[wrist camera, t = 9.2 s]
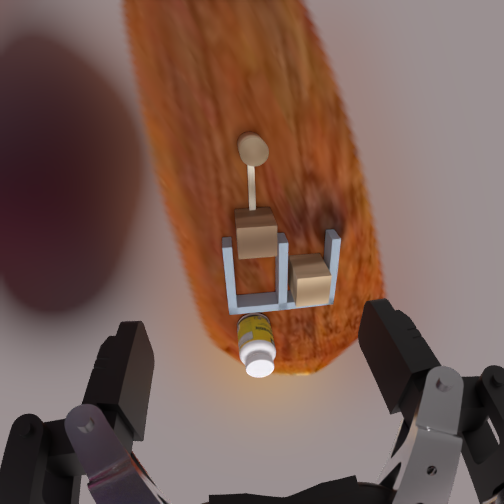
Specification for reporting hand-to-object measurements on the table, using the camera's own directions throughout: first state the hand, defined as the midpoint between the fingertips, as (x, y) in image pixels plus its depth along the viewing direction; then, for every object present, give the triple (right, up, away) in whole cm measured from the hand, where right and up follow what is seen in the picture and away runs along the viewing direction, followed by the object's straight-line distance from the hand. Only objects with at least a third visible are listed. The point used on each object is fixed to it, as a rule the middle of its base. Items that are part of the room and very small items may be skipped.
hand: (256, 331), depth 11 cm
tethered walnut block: (0, +11, +28) cm, 30 cm away
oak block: (+7, 0, +35) cm, 36 cm away
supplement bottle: (0, -9, +40) cm, 41 cm away
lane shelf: (+4, +1, +34) cm, 35 cm away
